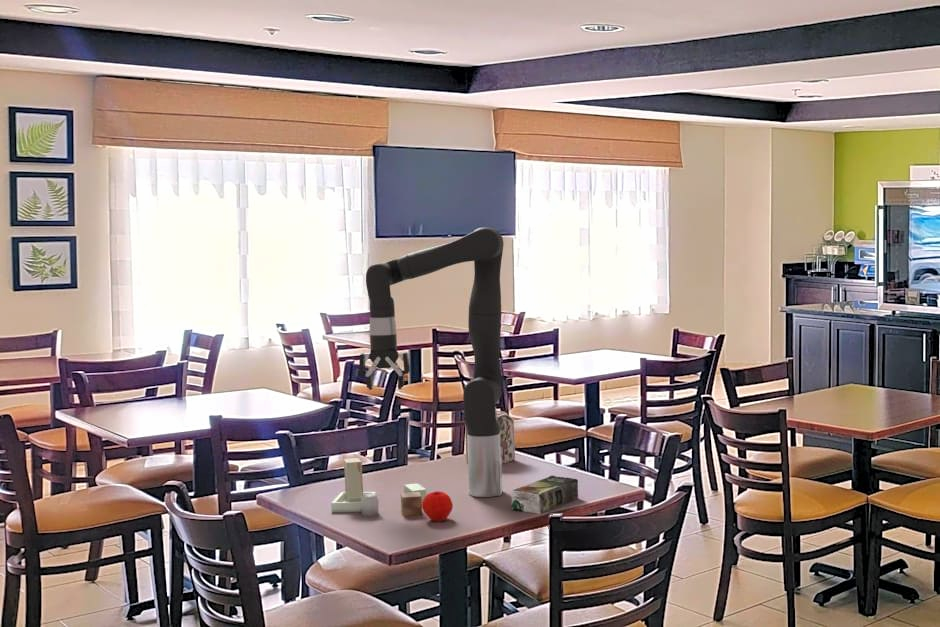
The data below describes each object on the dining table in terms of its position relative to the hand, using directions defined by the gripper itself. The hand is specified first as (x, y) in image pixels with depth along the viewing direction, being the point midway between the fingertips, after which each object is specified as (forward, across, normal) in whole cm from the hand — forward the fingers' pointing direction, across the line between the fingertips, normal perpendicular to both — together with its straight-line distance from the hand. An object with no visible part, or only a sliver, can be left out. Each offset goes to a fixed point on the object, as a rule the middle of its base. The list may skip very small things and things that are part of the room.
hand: (385, 389), depth 302 cm
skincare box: (+30, +7, +15) cm, 34 cm away
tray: (+30, +7, +15) cm, 34 cm away
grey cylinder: (+30, +1, +23) cm, 38 cm away
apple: (+30, -18, +29) cm, 46 cm away
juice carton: (+31, -45, +14) cm, 56 cm away
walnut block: (+30, -10, +22) cm, 39 cm away
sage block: (+30, -9, +9) cm, 33 cm away
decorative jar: (+30, -26, -40) cm, 57 cm away
